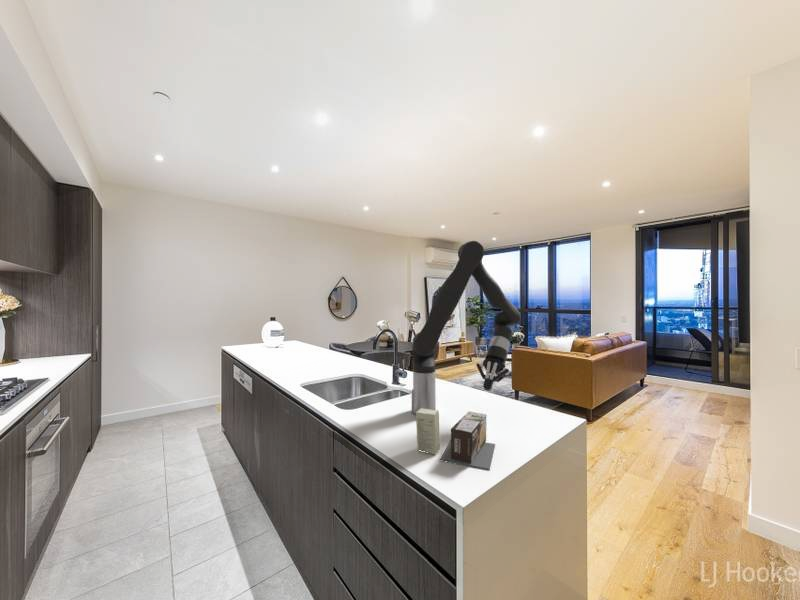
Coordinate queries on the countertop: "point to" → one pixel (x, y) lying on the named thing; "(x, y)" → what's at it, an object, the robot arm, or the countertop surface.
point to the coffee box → (468, 436)
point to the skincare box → (428, 430)
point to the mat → (479, 461)
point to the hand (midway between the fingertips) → (486, 389)
